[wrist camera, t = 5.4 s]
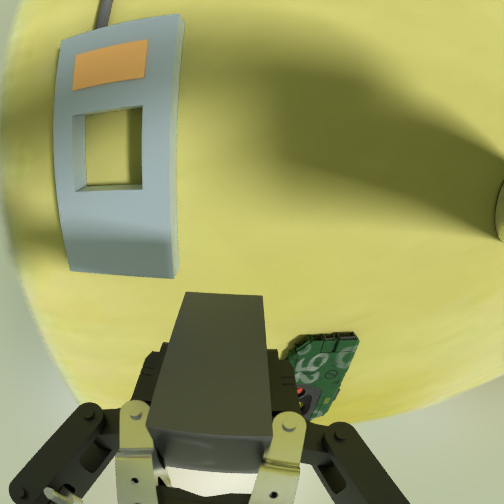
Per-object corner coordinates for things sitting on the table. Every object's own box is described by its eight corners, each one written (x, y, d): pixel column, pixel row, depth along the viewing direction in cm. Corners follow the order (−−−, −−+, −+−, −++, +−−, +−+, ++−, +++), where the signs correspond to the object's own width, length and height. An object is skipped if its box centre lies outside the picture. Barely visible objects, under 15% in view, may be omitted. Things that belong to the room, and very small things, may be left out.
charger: (262, 295, 14) (273, 436, 7) (257, 350, 16) (262, 473, 9) (185, 291, 14) (145, 425, 7) (191, 346, 16) (167, 466, 9)
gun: (269, 339, 25) (365, 337, 26) (268, 329, 26) (361, 328, 27) (255, 423, 32) (326, 419, 32) (254, 414, 33) (324, 412, 34)
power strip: (204, -76, 9) (201, -88, 7) (179, 266, 23) (173, 280, 21) (103, -55, 9) (94, -64, 7) (80, 260, 22) (69, 271, 20)
